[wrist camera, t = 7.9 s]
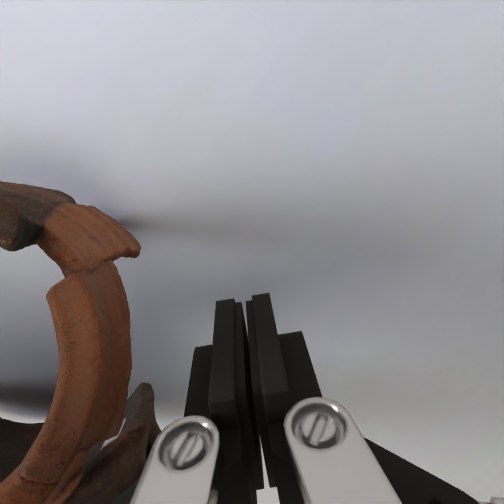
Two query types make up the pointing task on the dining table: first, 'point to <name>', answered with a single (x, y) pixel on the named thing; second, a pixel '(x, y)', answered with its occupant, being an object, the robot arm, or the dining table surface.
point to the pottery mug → (78, 360)
